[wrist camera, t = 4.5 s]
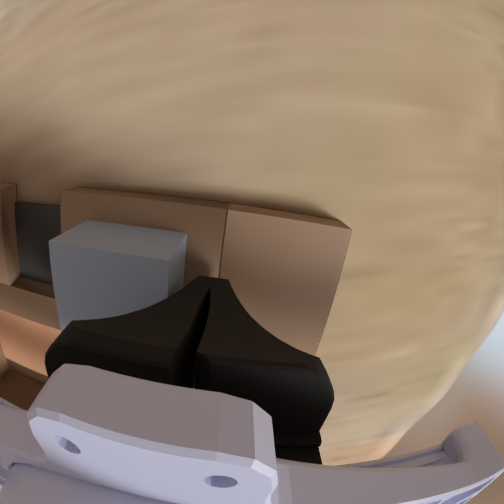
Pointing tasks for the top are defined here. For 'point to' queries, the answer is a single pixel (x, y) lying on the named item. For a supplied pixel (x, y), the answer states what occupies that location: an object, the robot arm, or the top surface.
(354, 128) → the top surface
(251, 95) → the top surface
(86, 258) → the block
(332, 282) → the board
